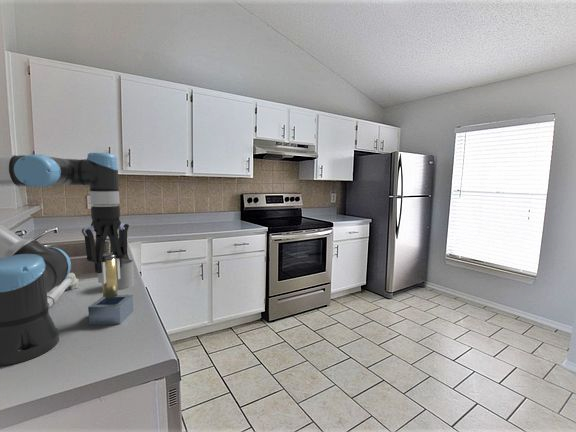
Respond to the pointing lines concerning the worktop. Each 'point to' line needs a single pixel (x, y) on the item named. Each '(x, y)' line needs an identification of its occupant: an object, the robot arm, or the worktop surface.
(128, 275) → the cup
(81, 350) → the worktop surface
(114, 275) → the olive tall cylinder
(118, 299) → the open blue-gray rectangular box
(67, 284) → the white knobby-ended rod
